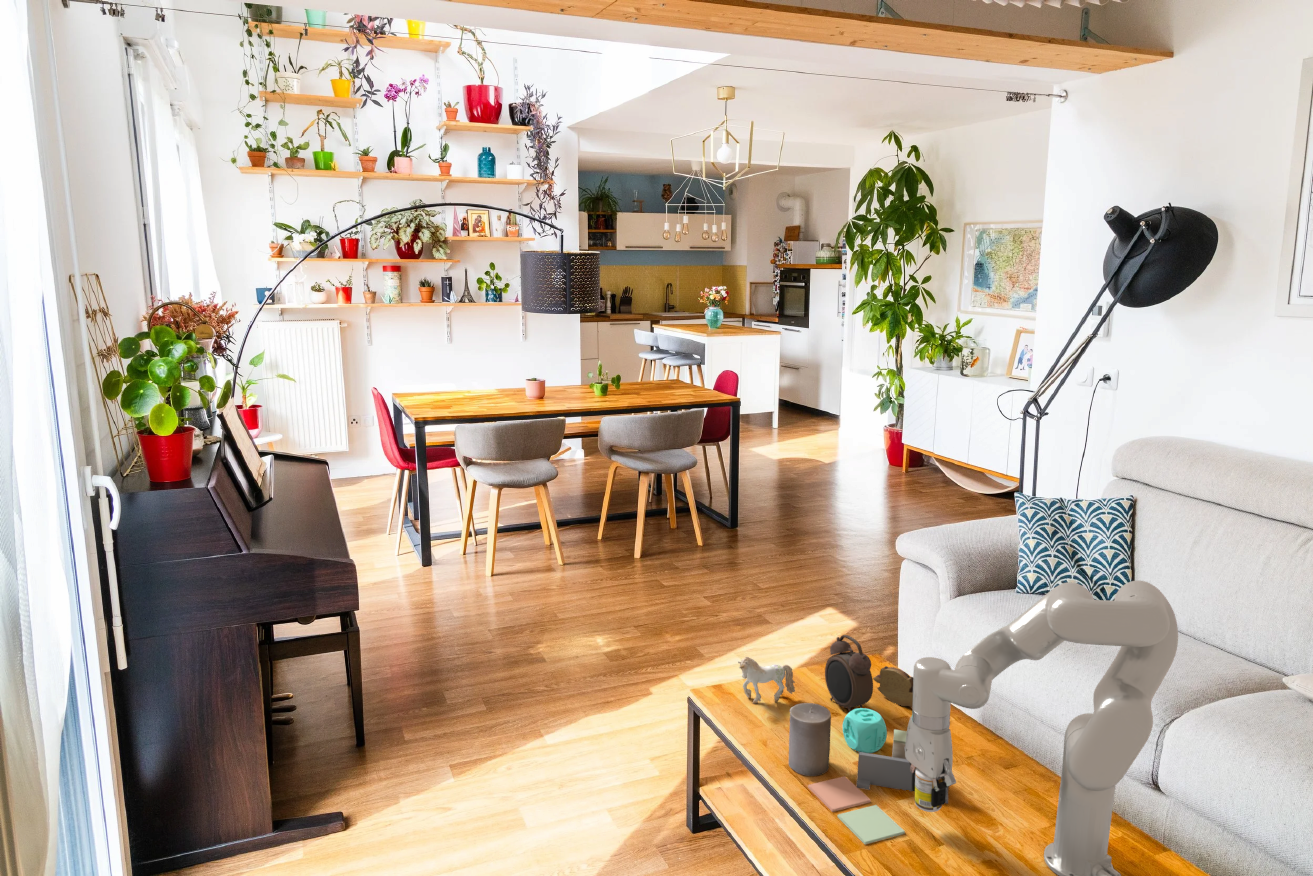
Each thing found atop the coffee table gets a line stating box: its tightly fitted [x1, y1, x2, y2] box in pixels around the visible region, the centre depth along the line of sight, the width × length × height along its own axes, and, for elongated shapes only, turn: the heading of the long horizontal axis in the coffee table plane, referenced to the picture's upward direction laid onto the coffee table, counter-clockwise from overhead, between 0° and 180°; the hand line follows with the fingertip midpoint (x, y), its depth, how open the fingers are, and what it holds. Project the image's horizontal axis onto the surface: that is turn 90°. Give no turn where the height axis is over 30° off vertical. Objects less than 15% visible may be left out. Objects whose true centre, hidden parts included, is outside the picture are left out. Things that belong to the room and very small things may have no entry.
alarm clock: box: [824, 634, 874, 713], centre depth 238 cm, size 15×7×20 cm, turn 25°
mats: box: [807, 775, 906, 845], centre depth 194 cm, size 22×10×1 cm, turn 22°
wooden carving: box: [872, 666, 913, 709], centre depth 242 cm, size 16×5×10 cm, turn 43°
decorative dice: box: [842, 707, 888, 754], centre depth 220 cm, size 8×8×8 cm
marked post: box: [891, 728, 907, 759], centre depth 207 cm, size 5×5×10 cm
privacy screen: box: [855, 752, 949, 804], centre depth 202 cm, size 20×6×7 cm, turn 74°
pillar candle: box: [788, 702, 832, 777], centre depth 210 cm, size 10×10×15 cm
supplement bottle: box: [914, 768, 943, 813], centre depth 187 cm, size 6×6×10 cm
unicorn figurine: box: [737, 656, 796, 705], centre depth 241 cm, size 7×20×13 cm, turn 118°
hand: (928, 796), depth 187 cm, fingers closed on supplement bottle, 5 cm apart
